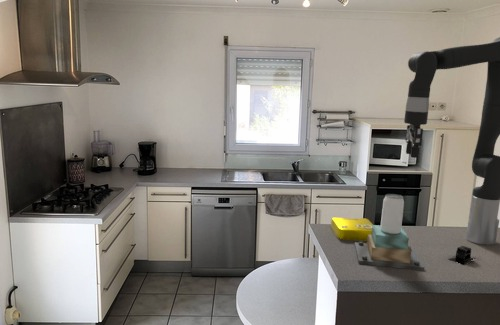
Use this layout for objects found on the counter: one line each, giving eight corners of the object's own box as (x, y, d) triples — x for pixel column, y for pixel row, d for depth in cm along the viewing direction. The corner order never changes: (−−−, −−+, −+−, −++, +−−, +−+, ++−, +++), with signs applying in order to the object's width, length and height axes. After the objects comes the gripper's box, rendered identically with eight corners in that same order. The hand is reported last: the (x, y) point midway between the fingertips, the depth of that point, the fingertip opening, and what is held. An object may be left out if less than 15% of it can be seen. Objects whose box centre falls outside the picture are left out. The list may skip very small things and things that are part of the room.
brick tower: (412, 250, 144) (416, 226, 142) (424, 270, 128) (427, 243, 127) (354, 244, 147) (356, 220, 145) (358, 263, 132) (361, 236, 130)
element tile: (366, 228, 167) (367, 217, 166) (378, 242, 152) (380, 229, 151) (329, 227, 166) (330, 215, 165) (338, 240, 152) (339, 228, 151)
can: (401, 230, 138) (405, 195, 136) (400, 236, 132) (404, 199, 130) (381, 226, 140) (384, 192, 138) (379, 232, 134) (383, 197, 132)
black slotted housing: (463, 268, 132) (465, 255, 131) (441, 260, 138) (443, 247, 137) (482, 260, 139) (484, 248, 139) (460, 253, 145) (462, 240, 144)
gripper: (433, 112, 138) (427, 159, 141) (423, 109, 151) (417, 153, 154) (410, 110, 139) (404, 158, 142) (401, 108, 153) (397, 152, 156)
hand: (411, 155), depth 148 cm, fingers open, 8 cm apart
